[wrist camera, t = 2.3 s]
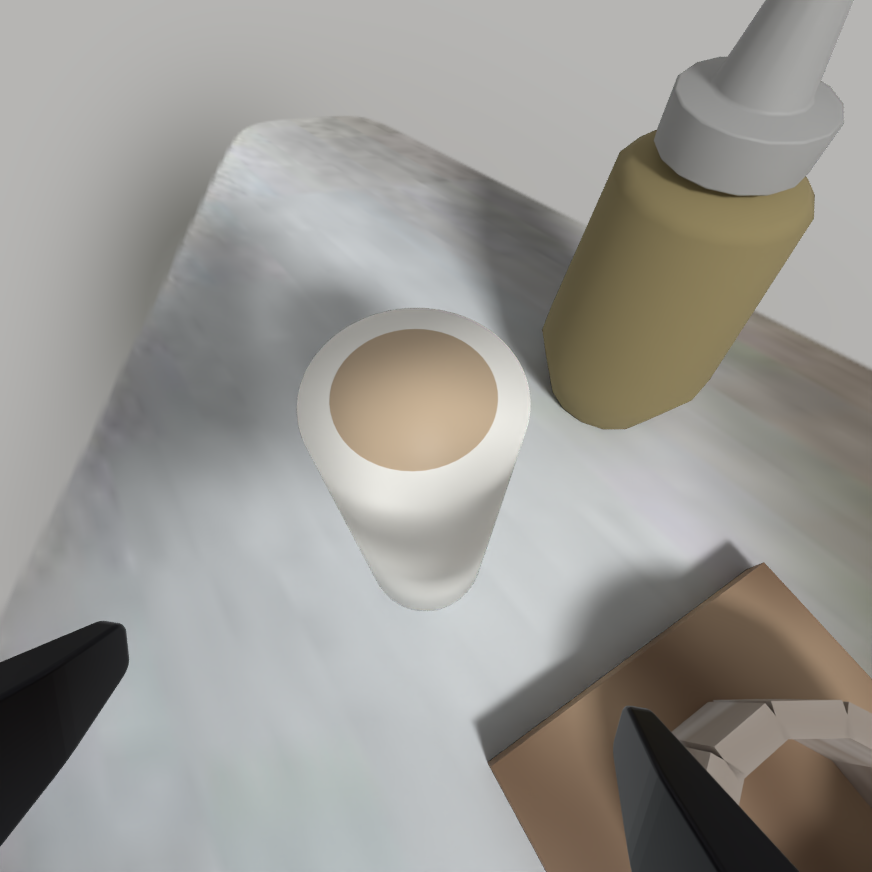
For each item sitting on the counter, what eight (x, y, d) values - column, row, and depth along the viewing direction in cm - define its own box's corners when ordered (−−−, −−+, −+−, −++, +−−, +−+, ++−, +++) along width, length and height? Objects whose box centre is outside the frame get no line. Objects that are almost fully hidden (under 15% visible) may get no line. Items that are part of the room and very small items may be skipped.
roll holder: (794, 1333, 12) (980, 1666, 8) (487, 762, 18) (502, 782, 14) (1084, 942, 15) (1319, 1031, 11) (747, 568, 21) (822, 538, 17)
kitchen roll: (404, 634, 20) (361, 552, 9) (352, 534, 22) (261, 361, 11) (502, 572, 21) (580, 428, 10) (444, 483, 23) (451, 278, 12)
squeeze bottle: (705, 435, 25) (1193, -35, 9) (556, 464, 24) (793, 5, 8) (642, 319, 28) (901, -156, 13) (511, 340, 28) (612, -136, 12)
